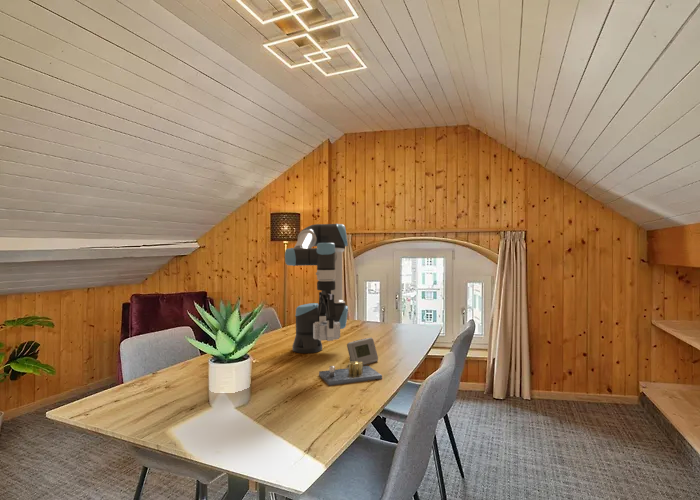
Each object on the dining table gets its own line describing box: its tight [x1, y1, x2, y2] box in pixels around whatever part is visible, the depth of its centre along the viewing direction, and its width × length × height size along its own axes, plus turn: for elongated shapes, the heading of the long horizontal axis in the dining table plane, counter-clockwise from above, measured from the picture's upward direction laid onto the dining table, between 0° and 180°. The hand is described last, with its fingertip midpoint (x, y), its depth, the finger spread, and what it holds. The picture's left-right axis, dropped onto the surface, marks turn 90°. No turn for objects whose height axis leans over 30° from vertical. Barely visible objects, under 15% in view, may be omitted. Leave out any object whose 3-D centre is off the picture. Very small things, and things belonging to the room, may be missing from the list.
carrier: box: [318, 360, 383, 386], centre depth 173 cm, size 14×22×6 cm, turn 110°
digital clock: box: [346, 337, 379, 366], centre depth 192 cm, size 16×9×11 cm, turn 122°
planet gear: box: [313, 321, 341, 342], centre depth 175 cm, size 11×11×6 cm
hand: (326, 334), depth 175 cm, fingers closed on planet gear, 11 cm apart
